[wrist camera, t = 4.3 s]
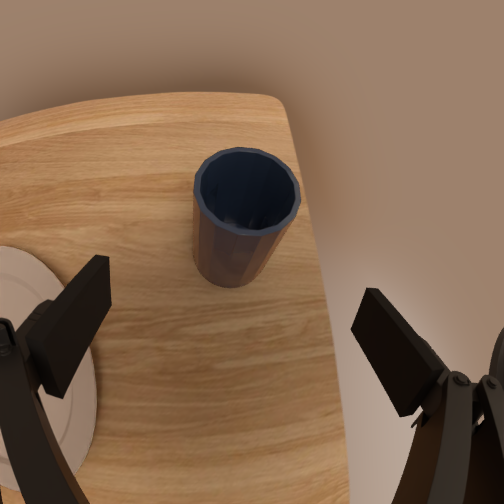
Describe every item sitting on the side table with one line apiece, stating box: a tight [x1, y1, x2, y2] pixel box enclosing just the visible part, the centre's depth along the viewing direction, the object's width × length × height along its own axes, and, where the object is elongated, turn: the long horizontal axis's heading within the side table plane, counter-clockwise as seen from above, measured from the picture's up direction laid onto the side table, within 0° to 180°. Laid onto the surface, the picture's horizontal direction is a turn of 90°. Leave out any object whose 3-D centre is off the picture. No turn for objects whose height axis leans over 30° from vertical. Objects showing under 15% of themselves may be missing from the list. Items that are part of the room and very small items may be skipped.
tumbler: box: [193, 147, 301, 288], centre depth 23 cm, size 7×7×11 cm
